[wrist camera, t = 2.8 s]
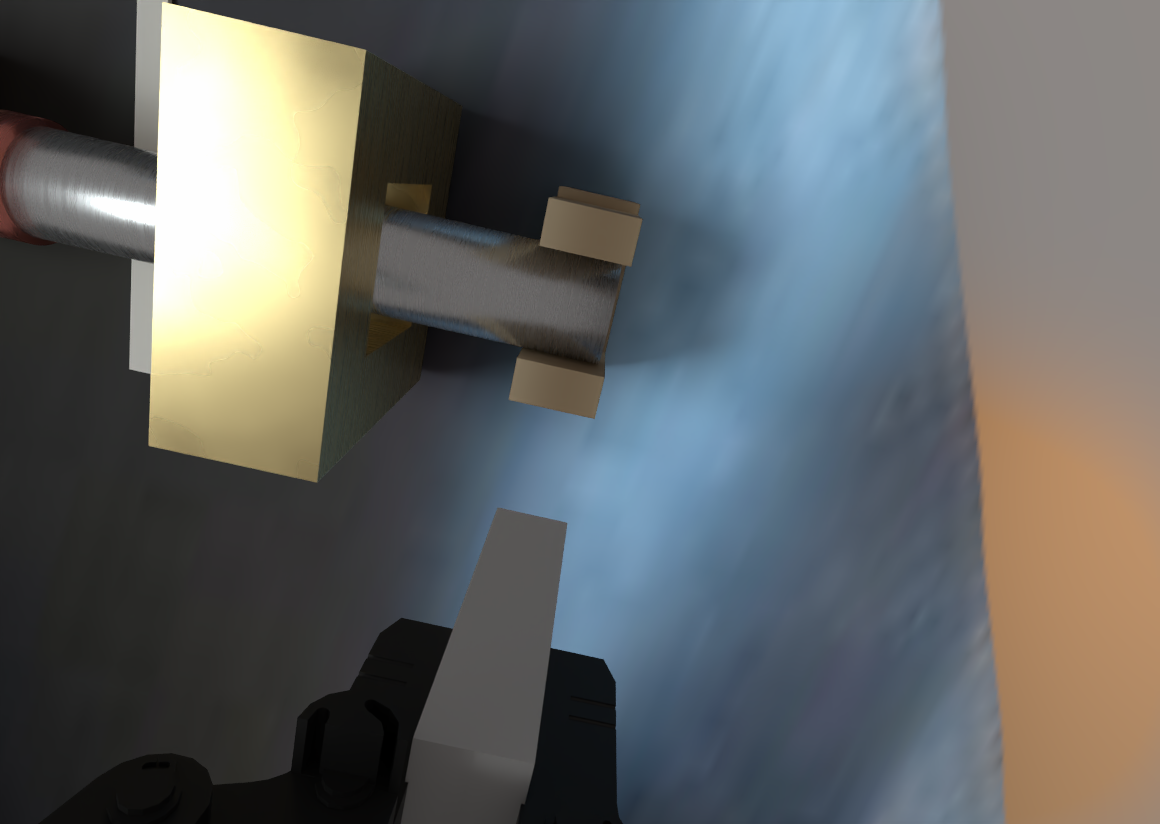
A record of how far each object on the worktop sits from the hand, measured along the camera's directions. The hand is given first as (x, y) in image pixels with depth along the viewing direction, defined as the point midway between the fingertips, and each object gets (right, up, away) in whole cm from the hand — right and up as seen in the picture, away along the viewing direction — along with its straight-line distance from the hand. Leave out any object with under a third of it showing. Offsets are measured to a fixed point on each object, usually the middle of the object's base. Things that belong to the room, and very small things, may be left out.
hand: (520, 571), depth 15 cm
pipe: (-9, +9, +6) cm, 15 cm away
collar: (-5, +10, +10) cm, 15 cm away
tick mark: (-14, +11, +10) cm, 20 cm away
